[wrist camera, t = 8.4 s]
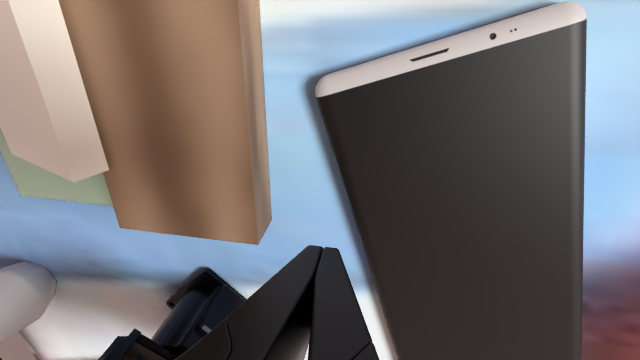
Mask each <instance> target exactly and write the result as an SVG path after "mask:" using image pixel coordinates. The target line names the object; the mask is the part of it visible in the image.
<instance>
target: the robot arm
mask: <svg viewBox="0 0 640 360" xmlns="http://www.w3.org/2000/svg"><path fill="white" fill-rule="evenodd" d="M166 304H167V305H168V306H169V307H170V308H171V309H173V310H172V311H171V313H170V314H169V315H168V317H167V318H166V319H165V321H164V322H163V324H162V325H161V326H160V328H159V329H158V331H157V332H156V333H155V335H154V336H153V337H152V339H149V338H147V337H146V336H144V335H142V334H141V332H140V331H138V330H137V329H134V330H133V331H132V332H131V333H130V335H129V336H126V337H125V336H118V337H117V338H116V339H115V340H114V342H113V343H112V344H111V345H110V346H109V348H108V349H107V350H106V351H105V352H104V354H103V355H102V356H101V357H100V358H99V359H98V360H304V358H305V354H306V351H307V348H308V344H309V353H308V360H379V358H378V355H377V352H376V350H375V347H374V344H373V343H372V339H371V336H370V334H369V331H368V328H367V326H366V323H365V320H364V317H363V315H362V312H361V309H360V306H359V304H358V301H357V298H356V296H355V293H354V290H353V287H352V285H351V282H350V279H349V277H348V274H347V271H346V268H345V266H344V263H343V260H342V257H341V255H340V252H339V250H338V249H337V248H330V247H325V248H323V247H321V246H313V245H309V246H307V247H306V248H305V249H304V250H303V251H301V252H300V253H299V254H298V255H297V256H296V257H295V258H294V259H292V260H291V261H290V262H289V263H288V264H287V265H286V266H284V267H283V268H282V269H281V270H280V271H279V272H278V273H277V274H275V275H274V276H273V277H272V278H271V279H270V280H269V281H267V282H266V283H265V284H264V285H263V286H262V287H261V288H259V289H258V290H257V291H256V292H255V293H254V294H253V295H252V296H250V297H249V298H248V299H247V300H246V299H245V298H244V297H243V296H241V295H240V294H239V293H238V292H237V291H235V290H234V289H233V288H232V287H231V286H230V285H228V284H227V283H226V282H225V281H224V280H222V279H221V278H220V277H219V276H218V275H216V274H215V273H214V272H213V271H212V270H210V269H204V270H203V271H202V272H200V273H199V274H198V275H197V276H195V277H194V278H193V279H192V280H190V281H189V282H188V283H187V284H186V285H184V286H183V287H182V288H181V289H179V290H178V291H177V292H176V293H174V294H173V295H172V296H171V297H170V298H169V299H168V300H167V302H166Z"/></svg>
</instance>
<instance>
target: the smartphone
mask: <svg viewBox="0 0 640 360" xmlns="http://www.w3.org/2000/svg"><path fill="white" fill-rule="evenodd" d="M586 27H587V17H586V12H585V10H584V8H583V7H582V6H581V5H579V4H577V3H574V2H562V3H556V4H553V5H550V6H546V7H543V8H540V9H537V10H533V11H530V12H527V13H524V14H521V15H517V16H514V17H511V18H508V19H504V20H501V21H498V22H495V23H491V24H488V25H485V26H482V27H478V28H475V29H472V30H469V31H466V32H462V33H459V34H456V35H453V36H449V37H446V38H443V39H440V40H436V41H433V42H430V43H427V44H423V45H420V46H417V47H414V48H411V49H407V50H404V51H401V52H398V53H394V54H391V55H388V56H385V57H381V58H378V59H375V60H372V61H368V62H365V63H362V64H359V65H356V66H352V67H349V68H346V69H343V70H339V71H336V72H333V73H330V74H327V75H325V76H323V77H322V78H321V79H320V80H319V81H318V83H317V85H316V88H315V96H316V99H317V102H318V106H319V109H320V112H321V115H322V118H323V122H324V125H325V128H326V131H327V134H328V137H329V141H330V144H331V147H332V151H333V154H334V157H335V161H336V164H337V167H338V170H339V173H340V177H341V179H342V182H343V186H344V189H345V193H346V196H347V199H348V202H349V205H350V208H351V211H352V214H353V217H354V220H355V224H356V227H357V230H358V234H359V237H360V240H361V244H362V247H363V249H364V252H365V256H366V259H367V262H368V265H369V268H370V272H371V275H372V278H373V281H374V284H375V288H376V291H377V294H378V297H379V300H380V303H381V307H382V310H383V313H384V316H385V319H386V323H387V326H388V329H389V332H390V335H391V339H392V342H393V345H394V348H395V351H396V355H397V358H398V360H581V342H582V279H583V216H584V153H585V90H586Z"/></svg>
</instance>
